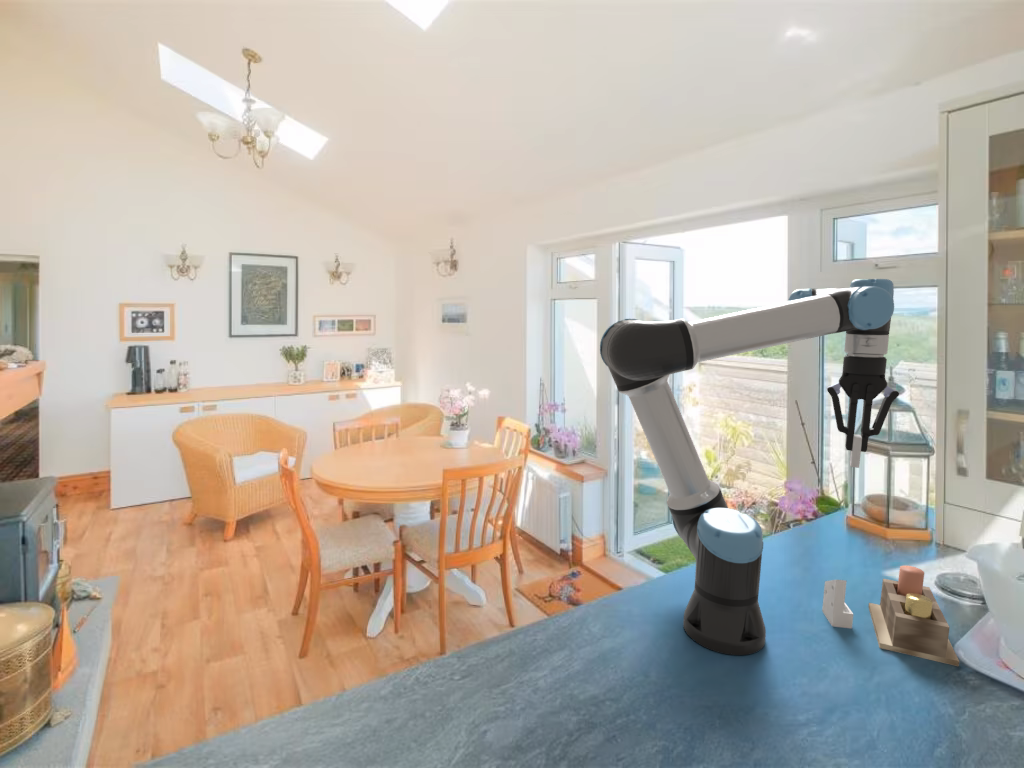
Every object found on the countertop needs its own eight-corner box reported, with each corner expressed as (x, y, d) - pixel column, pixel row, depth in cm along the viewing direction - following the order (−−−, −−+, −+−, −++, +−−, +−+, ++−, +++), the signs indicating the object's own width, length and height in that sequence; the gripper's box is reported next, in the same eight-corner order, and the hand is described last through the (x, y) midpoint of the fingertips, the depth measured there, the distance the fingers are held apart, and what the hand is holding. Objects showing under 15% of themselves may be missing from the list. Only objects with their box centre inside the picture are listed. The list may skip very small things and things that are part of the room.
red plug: (897, 609, 111) (901, 572, 110) (894, 600, 115) (898, 563, 114) (921, 614, 109) (926, 576, 108) (917, 605, 113) (922, 568, 112)
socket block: (879, 647, 105) (883, 613, 104) (868, 607, 119) (871, 576, 118) (958, 666, 99) (963, 630, 98) (937, 621, 113) (941, 589, 112)
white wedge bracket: (841, 627, 107) (836, 579, 110) (823, 625, 116) (819, 582, 119) (862, 629, 106) (856, 581, 109) (842, 628, 115) (838, 583, 119)
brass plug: (903, 640, 104) (908, 601, 103) (900, 629, 108) (904, 591, 107) (929, 646, 103) (934, 606, 101) (925, 635, 106) (929, 596, 105)
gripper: (830, 355, 114) (820, 466, 117) (906, 358, 108) (894, 474, 111) (827, 352, 120) (818, 457, 124) (899, 355, 115) (888, 465, 118)
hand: (854, 465), depth 117 cm, fingers closed
